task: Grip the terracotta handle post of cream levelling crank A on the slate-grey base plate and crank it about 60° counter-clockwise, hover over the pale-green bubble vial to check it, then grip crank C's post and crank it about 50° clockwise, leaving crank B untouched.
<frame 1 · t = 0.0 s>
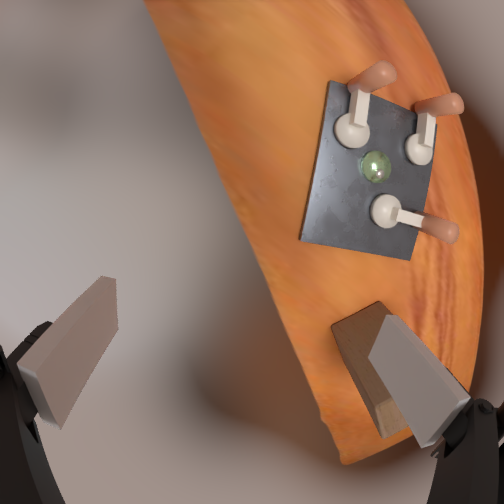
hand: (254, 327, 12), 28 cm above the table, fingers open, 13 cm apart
knob c: (415, 220, 34), point 6 cm above the table, hinge at 0.0°
knob b: (436, 130, 30), point 6 cm above the table, hinge at 0.0°
knob a: (367, 106, 29), point 6 cm above the table, hinge at 0.0°
wooden block: (361, 332, 46), on the table
base plate: (375, 174, 38), on the table
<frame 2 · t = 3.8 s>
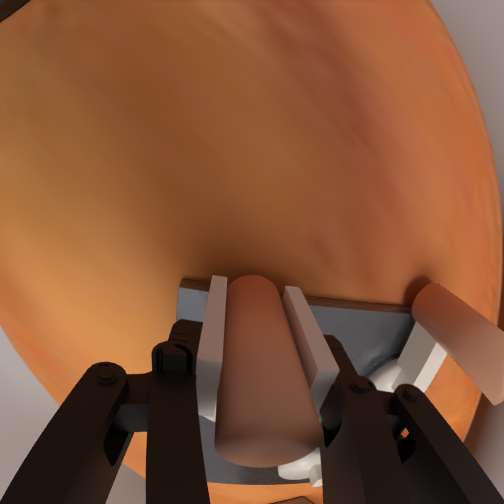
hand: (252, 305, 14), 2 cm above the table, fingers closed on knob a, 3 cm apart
knob c: (341, 492, 16), point 6 cm above the table, hinge at 0.0°
knob b: (437, 390, 13), point 6 cm above the table, hinge at 0.0°
knob a: (242, 413, 12), point 6 cm above the table, hinge at 0.0°, touching gripper
base plate: (295, 420, 20), on the table
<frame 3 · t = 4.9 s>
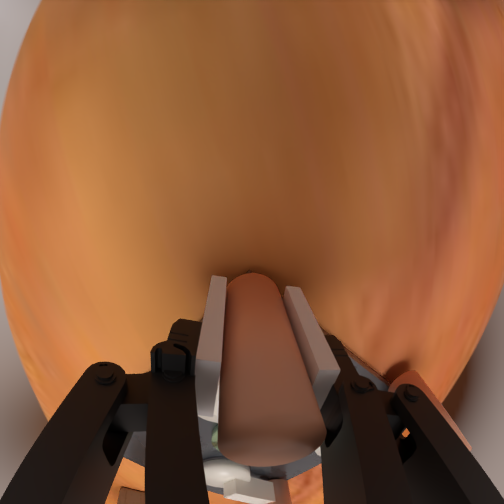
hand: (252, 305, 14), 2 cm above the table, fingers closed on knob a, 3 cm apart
knob b: (385, 452, 15), point 6 cm above the table, hinge at 0.0°
knob a: (235, 411, 12), point 6 cm above the table, hinge at 27.4°, touching gripper
wooden block: (157, 501, 27), on the table
base plate: (241, 433, 21), on the table
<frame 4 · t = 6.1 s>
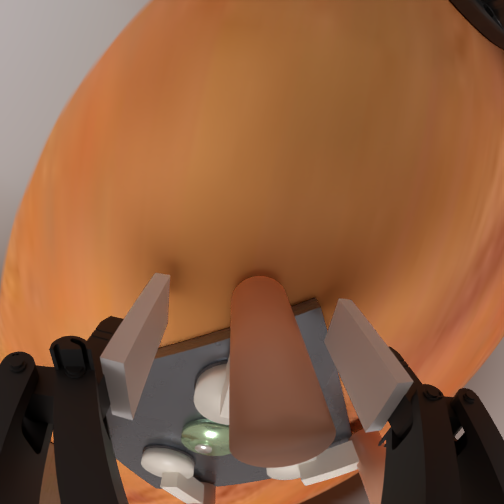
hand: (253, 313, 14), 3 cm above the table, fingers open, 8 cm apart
knob b: (333, 488, 16), point 6 cm above the table, hinge at 0.0°
knob a: (245, 413, 12), point 6 cm above the table, hinge at 56.5°
wooden block: (64, 459, 24), on the table
base plate: (206, 432, 20), on the table
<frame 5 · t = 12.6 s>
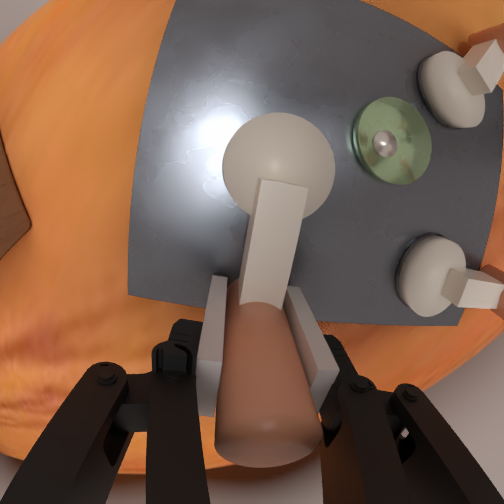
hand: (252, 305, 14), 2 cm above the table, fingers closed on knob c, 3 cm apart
knob c: (279, 256, 9), point 6 cm above the table, hinge at -0.1°, touching gripper
knob b: (497, 305, 11), point 6 cm above the table, hinge at 0.0°
base plate: (364, 153, 14), on the table
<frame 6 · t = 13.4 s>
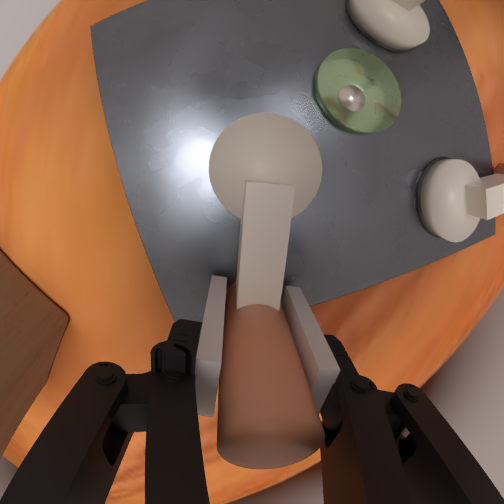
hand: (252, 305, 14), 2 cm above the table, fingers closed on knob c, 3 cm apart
knob c: (269, 258, 9), point 6 cm above the table, hinge at -20.5°, touching gripper
wooden block: (16, 314, 16), on the table
base plate: (337, 114, 13), on the table
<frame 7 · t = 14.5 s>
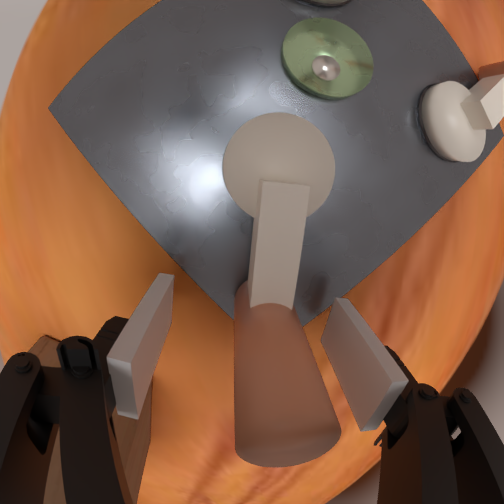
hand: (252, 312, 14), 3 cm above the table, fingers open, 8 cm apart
knob c: (286, 257, 9), point 6 cm above the table, hinge at -45.1°
wooden block: (98, 392, 19), on the table
base plate: (318, 87, 13), on the table
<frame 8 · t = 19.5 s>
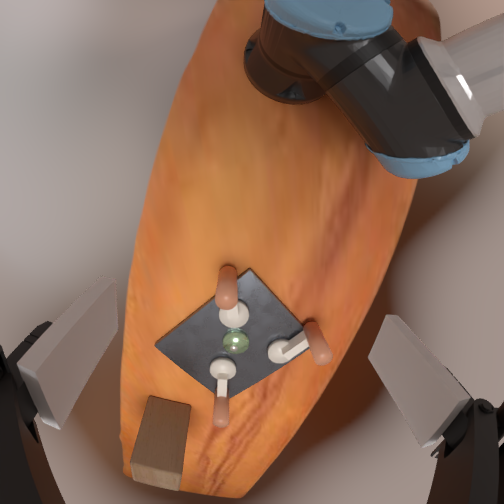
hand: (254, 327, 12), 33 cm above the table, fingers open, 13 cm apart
knob c: (221, 393, 47), point 6 cm above the table, hinge at -45.1°
knob b: (298, 355, 45), point 6 cm above the table, hinge at 0.0°
knob a: (231, 309, 42), point 6 cm above the table, hinge at 56.5°
wooden block: (169, 411, 57), on the table
base plate: (235, 343, 51), on the table
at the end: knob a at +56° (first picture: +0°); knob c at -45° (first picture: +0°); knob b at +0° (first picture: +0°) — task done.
